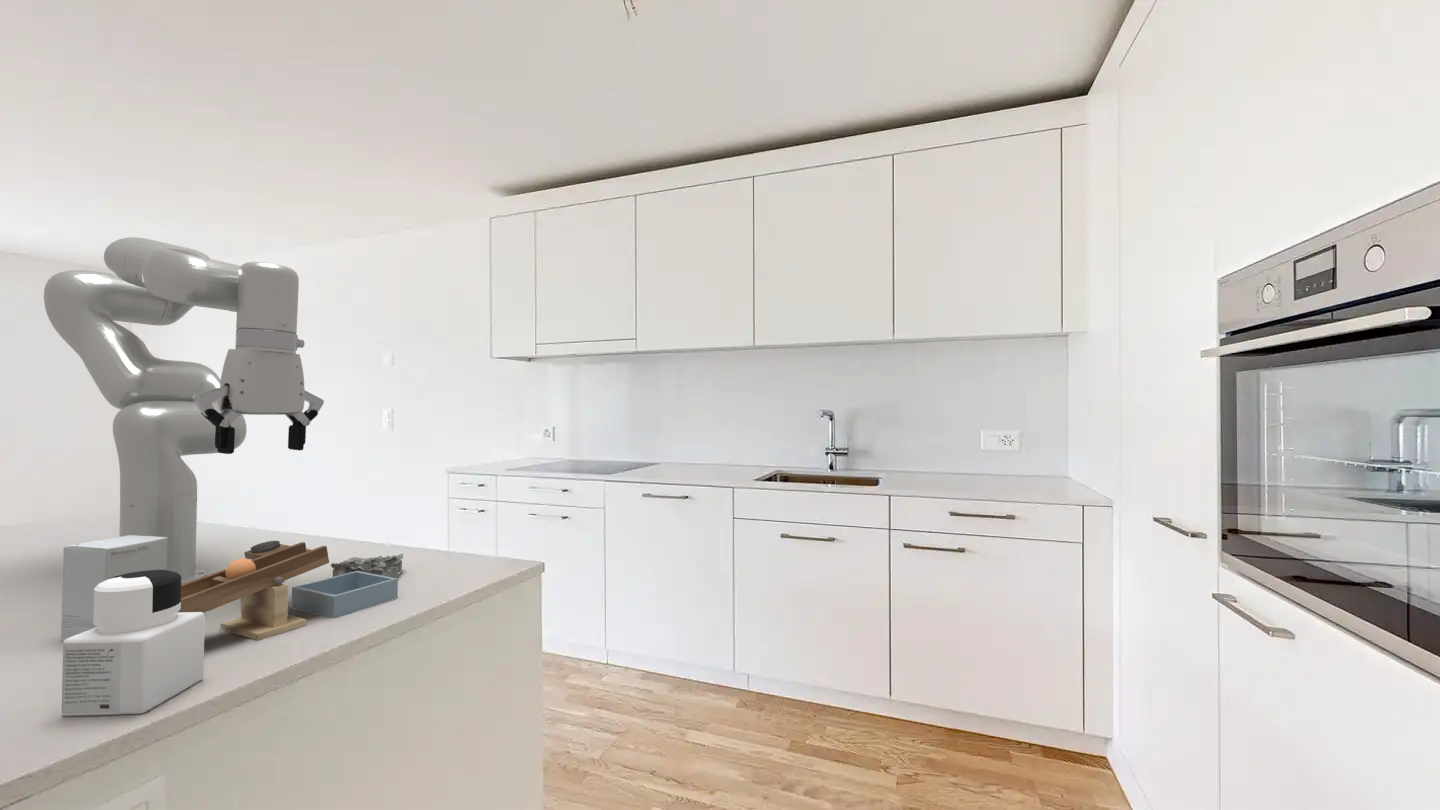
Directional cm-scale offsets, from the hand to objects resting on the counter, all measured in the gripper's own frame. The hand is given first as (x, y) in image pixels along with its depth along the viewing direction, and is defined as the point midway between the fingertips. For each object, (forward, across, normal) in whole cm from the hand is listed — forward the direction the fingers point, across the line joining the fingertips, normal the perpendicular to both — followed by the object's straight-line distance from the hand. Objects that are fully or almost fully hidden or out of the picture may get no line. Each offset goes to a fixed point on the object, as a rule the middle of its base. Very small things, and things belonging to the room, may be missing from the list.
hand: (262, 451), depth 91 cm
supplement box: (+24, +15, -2) cm, 29 cm away
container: (+23, +22, +23) cm, 40 cm away
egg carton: (+24, -16, +2) cm, 29 cm away
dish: (+24, -6, +13) cm, 28 cm away
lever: (+18, +8, +8) cm, 21 cm away
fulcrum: (+24, +5, +13) cm, 27 cm away
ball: (+15, +8, +12) cm, 21 cm away
